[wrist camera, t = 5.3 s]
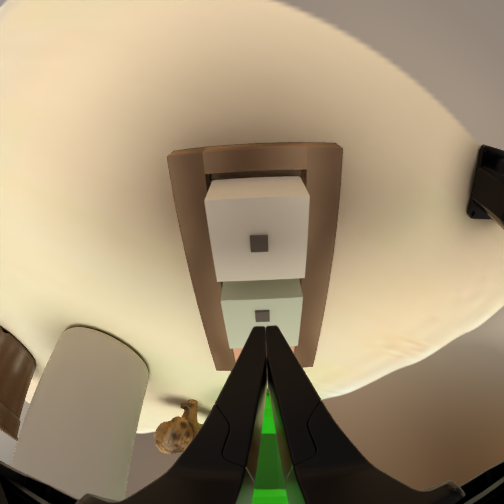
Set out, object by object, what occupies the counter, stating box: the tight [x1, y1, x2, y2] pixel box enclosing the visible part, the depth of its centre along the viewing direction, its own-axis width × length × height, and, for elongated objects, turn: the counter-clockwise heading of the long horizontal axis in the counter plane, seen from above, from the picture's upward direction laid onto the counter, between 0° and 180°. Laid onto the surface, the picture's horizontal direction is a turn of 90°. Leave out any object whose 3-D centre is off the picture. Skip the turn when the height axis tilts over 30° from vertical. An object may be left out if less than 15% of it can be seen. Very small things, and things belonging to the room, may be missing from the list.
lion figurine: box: [153, 400, 203, 454], centre depth 33 cm, size 15×5×9 cm, turn 46°
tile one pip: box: [204, 176, 310, 282], centre depth 15 cm, size 5×5×3 cm
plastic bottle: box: [252, 394, 288, 504], centre depth 23 cm, size 10×10×25 cm
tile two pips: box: [220, 278, 303, 349], centre depth 19 cm, size 5×5×3 cm
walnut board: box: [167, 143, 343, 371], centre depth 21 cm, size 10×21×2 cm, turn 3°
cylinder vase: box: [11, 327, 149, 501], centre depth 18 cm, size 12×12×25 cm
